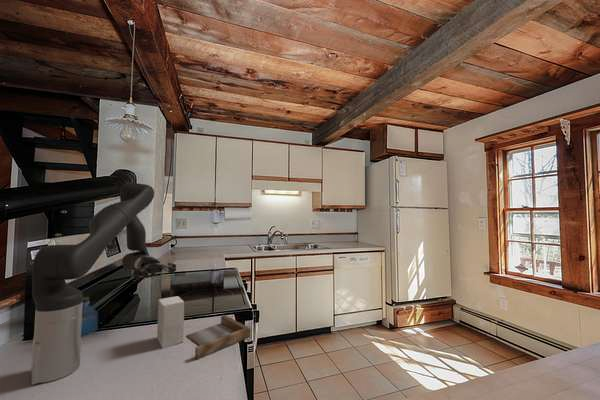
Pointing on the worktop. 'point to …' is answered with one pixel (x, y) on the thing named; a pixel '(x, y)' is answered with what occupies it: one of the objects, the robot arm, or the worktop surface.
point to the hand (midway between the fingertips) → (160, 273)
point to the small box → (170, 321)
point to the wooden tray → (219, 336)
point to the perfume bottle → (88, 318)
